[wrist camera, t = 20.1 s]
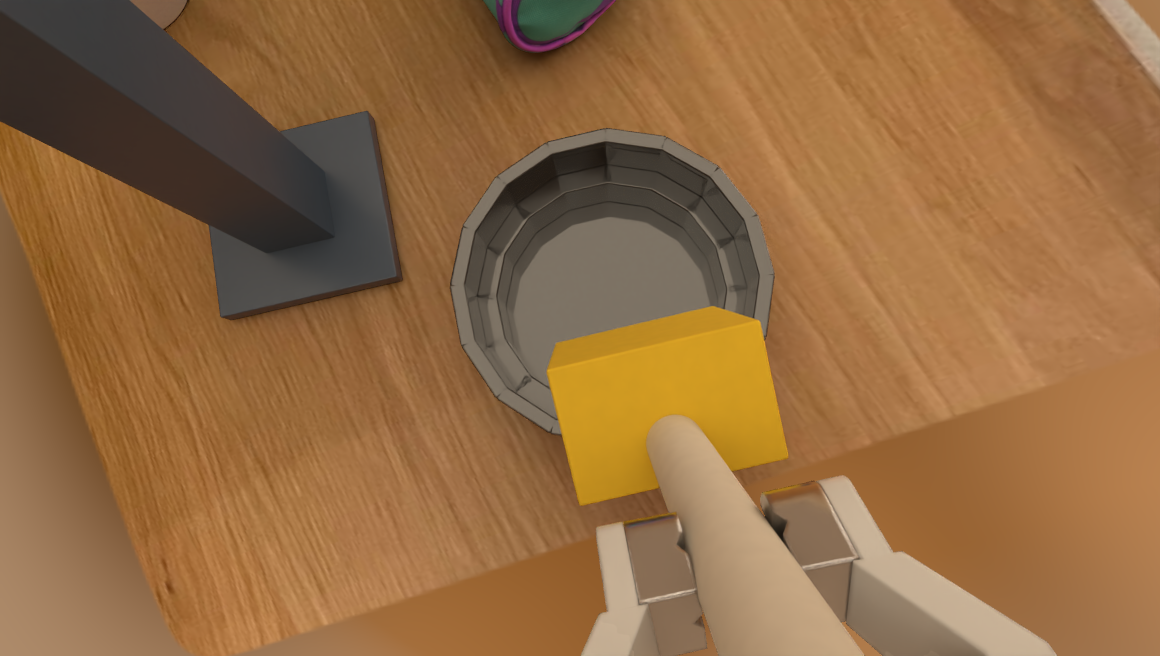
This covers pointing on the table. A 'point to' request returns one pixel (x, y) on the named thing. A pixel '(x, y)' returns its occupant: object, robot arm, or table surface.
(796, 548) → the robot arm
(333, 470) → the table surface
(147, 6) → the coffee cup
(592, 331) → the bowl
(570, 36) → the pencil case
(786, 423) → the table surface
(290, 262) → the stand
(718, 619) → the sponge wand
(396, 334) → the table surface
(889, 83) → the table surface
